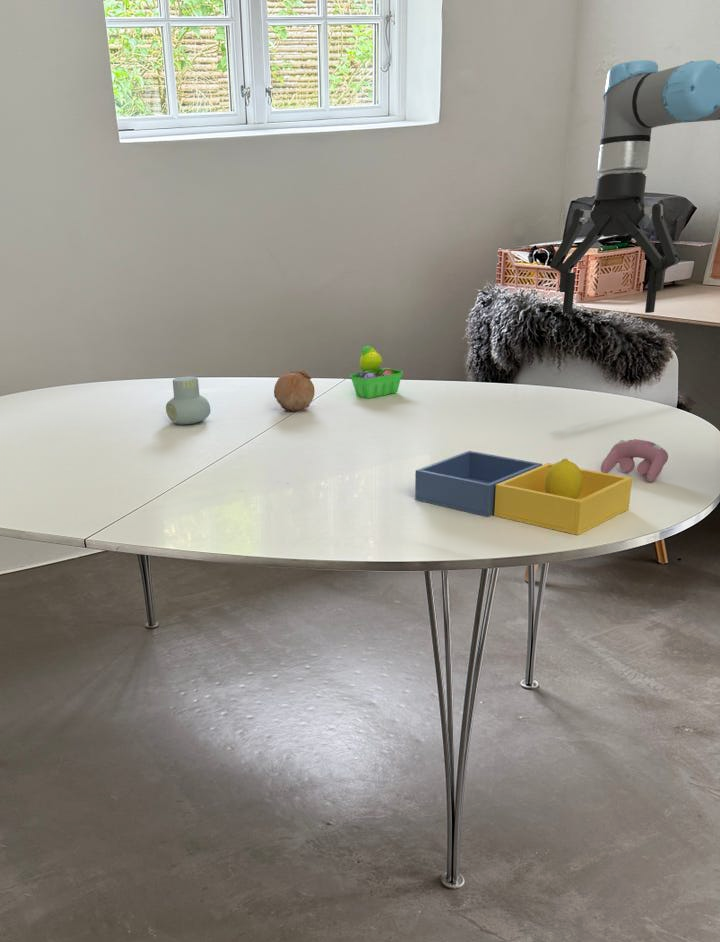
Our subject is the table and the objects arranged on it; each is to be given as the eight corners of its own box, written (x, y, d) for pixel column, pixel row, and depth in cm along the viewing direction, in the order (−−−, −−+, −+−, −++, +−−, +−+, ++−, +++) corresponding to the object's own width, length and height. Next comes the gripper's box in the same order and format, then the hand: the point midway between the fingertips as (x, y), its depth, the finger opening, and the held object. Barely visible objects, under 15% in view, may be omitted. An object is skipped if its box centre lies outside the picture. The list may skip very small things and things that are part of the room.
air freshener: (214, 423, 219) (211, 379, 215) (181, 429, 216) (177, 384, 212) (196, 415, 228) (192, 372, 224) (164, 420, 225) (159, 377, 221)
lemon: (535, 510, 149) (539, 460, 145) (554, 501, 152) (558, 452, 148) (567, 517, 145) (572, 465, 141) (586, 507, 148) (591, 457, 145)
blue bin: (540, 493, 158) (542, 463, 155) (488, 516, 149) (489, 485, 147) (467, 478, 168) (468, 450, 165) (414, 499, 159) (415, 470, 157)
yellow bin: (628, 509, 148) (632, 477, 145) (578, 535, 139) (581, 502, 137) (546, 492, 158) (548, 462, 156) (494, 515, 149) (495, 484, 147)
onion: (306, 419, 229) (321, 378, 227) (304, 417, 220) (320, 375, 218) (270, 405, 230) (284, 365, 227) (266, 403, 220) (281, 361, 218)
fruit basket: (367, 400, 229) (366, 352, 224) (346, 395, 236) (345, 348, 232) (404, 392, 234) (405, 345, 229) (383, 387, 241) (382, 341, 236)
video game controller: (661, 487, 161) (675, 447, 160) (651, 481, 157) (665, 440, 156) (607, 477, 168) (620, 438, 167) (596, 471, 164) (609, 432, 163)
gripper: (710, 168, 149) (691, 311, 156) (553, 181, 163) (542, 311, 170) (699, 165, 143) (680, 313, 151) (537, 178, 157) (527, 314, 165)
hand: (607, 312), depth 161 cm, fingers open, 13 cm apart
